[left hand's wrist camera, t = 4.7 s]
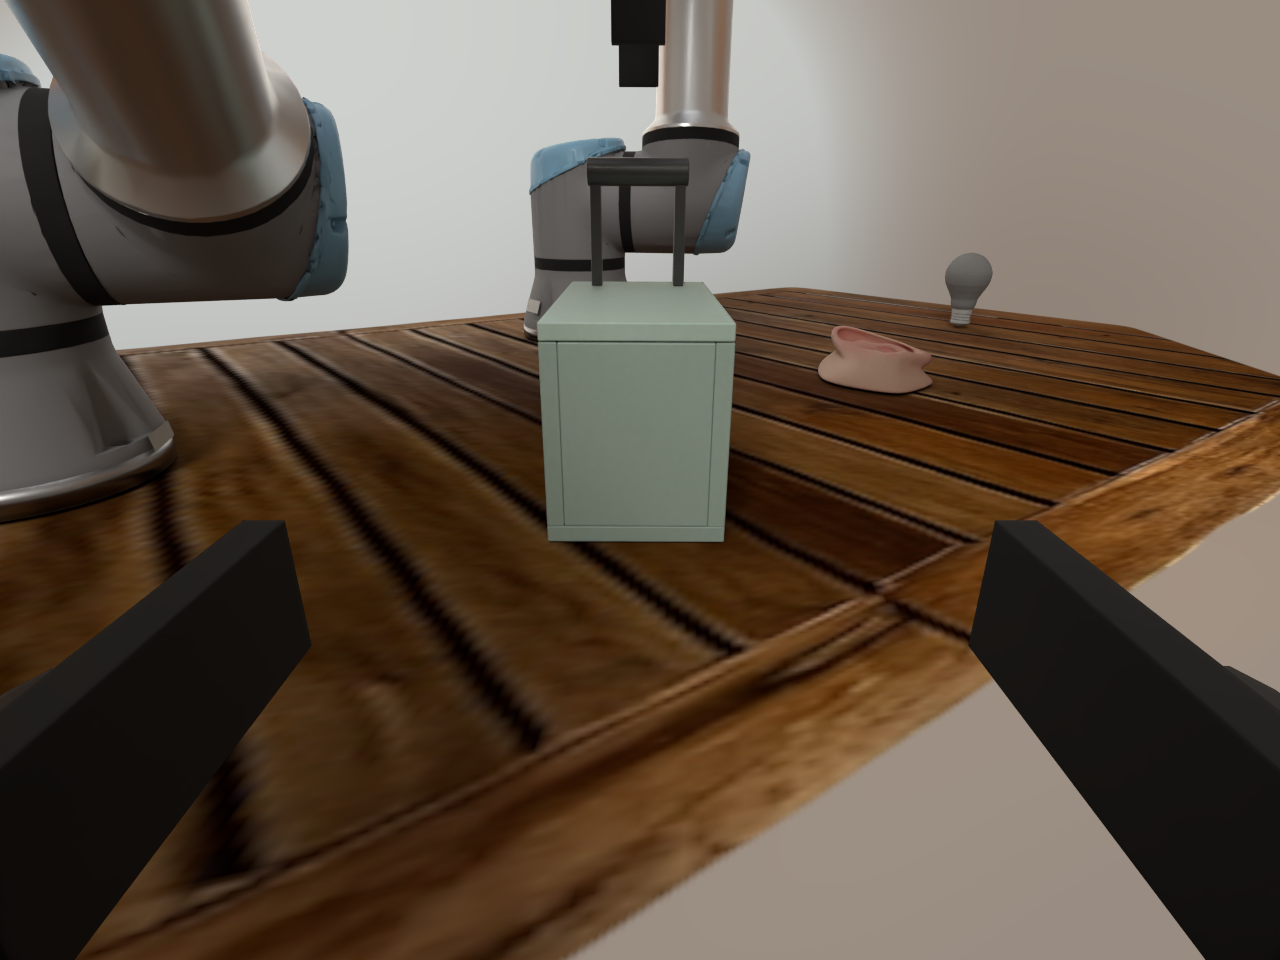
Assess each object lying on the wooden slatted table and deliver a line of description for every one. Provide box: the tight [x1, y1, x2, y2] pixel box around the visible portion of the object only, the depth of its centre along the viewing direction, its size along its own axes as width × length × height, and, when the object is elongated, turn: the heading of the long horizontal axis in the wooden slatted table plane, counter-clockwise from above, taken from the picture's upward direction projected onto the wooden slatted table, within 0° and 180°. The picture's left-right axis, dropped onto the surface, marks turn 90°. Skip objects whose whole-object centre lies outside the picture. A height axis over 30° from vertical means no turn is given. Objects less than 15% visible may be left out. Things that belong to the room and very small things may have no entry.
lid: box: [537, 157, 736, 342], centre depth 38 cm, size 18×9×9 cm, turn 0°
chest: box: [538, 341, 735, 542], centre depth 41 cm, size 17×9×10 cm, turn 0°
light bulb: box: [945, 253, 992, 326], centre depth 96 cm, size 6×6×10 cm
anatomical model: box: [818, 326, 932, 393], centre depth 68 cm, size 13×4×12 cm
